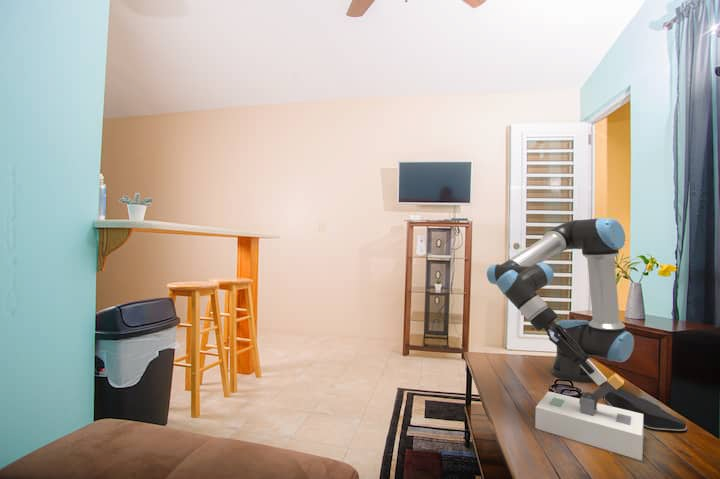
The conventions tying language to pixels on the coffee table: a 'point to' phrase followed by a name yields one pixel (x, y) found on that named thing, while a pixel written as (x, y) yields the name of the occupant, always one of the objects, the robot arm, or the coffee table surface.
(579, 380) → the robot arm
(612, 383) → the lever
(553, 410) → the switch housing
